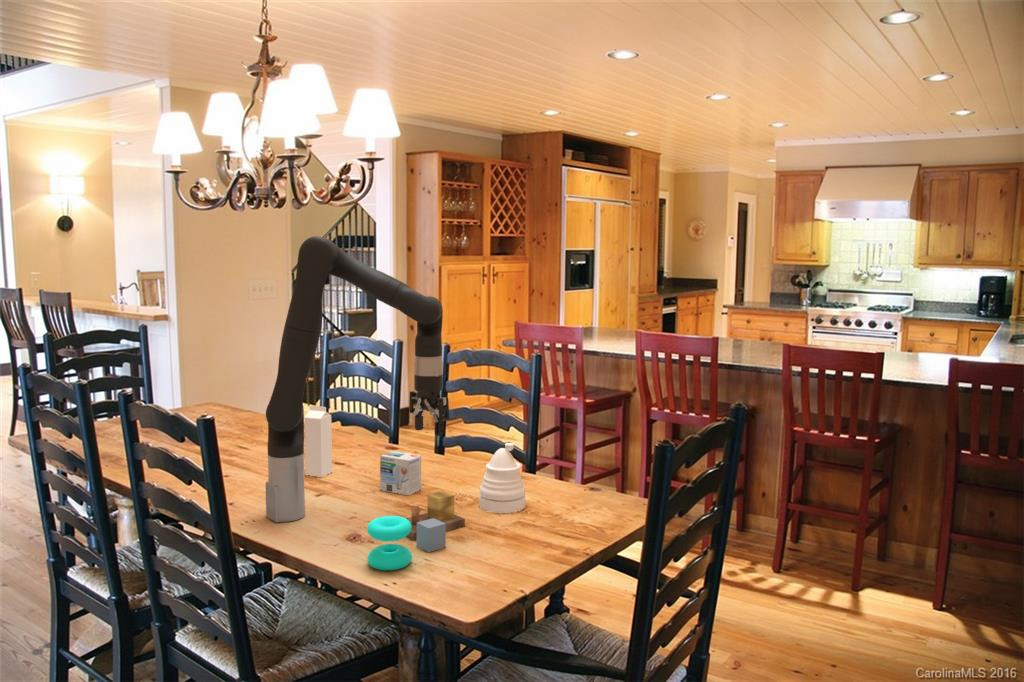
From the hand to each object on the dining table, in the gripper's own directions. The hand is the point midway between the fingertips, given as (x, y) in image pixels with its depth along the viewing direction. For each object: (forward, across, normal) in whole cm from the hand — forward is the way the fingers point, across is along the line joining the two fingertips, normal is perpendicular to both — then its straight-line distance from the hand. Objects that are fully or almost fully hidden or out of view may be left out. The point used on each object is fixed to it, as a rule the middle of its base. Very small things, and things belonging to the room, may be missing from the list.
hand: (428, 432), depth 208 cm
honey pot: (+23, +7, +20) cm, 32 cm away
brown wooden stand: (+23, +7, -6) cm, 25 cm away
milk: (+23, -54, -3) cm, 59 cm away
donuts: (+23, +19, -26) cm, 40 cm away
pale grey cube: (+23, +18, -13) cm, 32 cm away
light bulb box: (+23, -24, +7) cm, 34 cm away
